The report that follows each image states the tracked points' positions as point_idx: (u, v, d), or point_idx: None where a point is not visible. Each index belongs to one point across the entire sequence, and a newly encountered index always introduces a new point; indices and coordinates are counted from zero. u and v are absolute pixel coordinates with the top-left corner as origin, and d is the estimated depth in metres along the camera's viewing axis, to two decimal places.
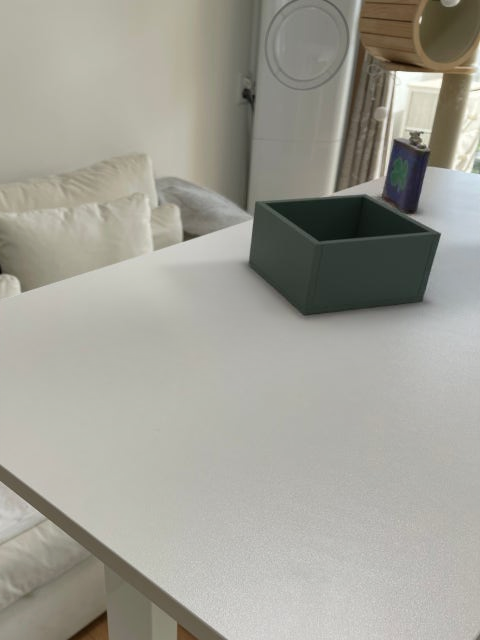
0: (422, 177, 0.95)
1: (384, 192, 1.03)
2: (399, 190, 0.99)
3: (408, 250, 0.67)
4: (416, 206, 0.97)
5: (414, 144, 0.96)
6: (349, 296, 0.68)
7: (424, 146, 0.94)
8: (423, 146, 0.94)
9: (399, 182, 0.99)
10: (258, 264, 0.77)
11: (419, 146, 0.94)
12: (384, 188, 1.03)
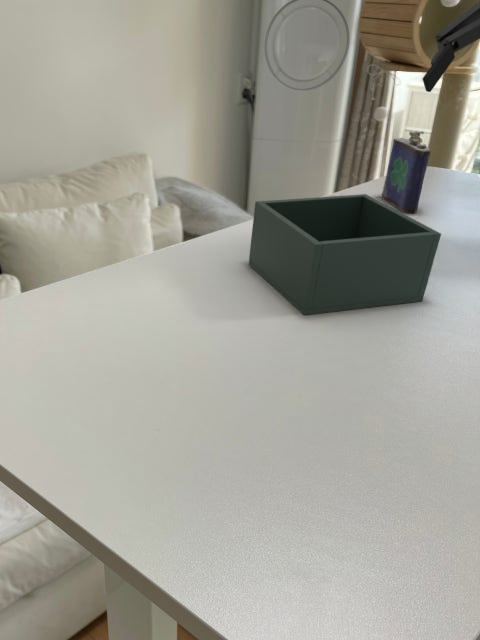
0: (422, 177, 0.95)
1: (384, 192, 1.03)
2: (399, 190, 0.99)
3: (408, 250, 0.67)
4: (416, 206, 0.97)
5: (414, 144, 0.96)
6: (349, 296, 0.68)
7: (424, 146, 0.94)
8: (423, 146, 0.94)
9: (399, 182, 0.99)
10: (258, 264, 0.77)
11: (419, 146, 0.94)
12: (384, 188, 1.03)
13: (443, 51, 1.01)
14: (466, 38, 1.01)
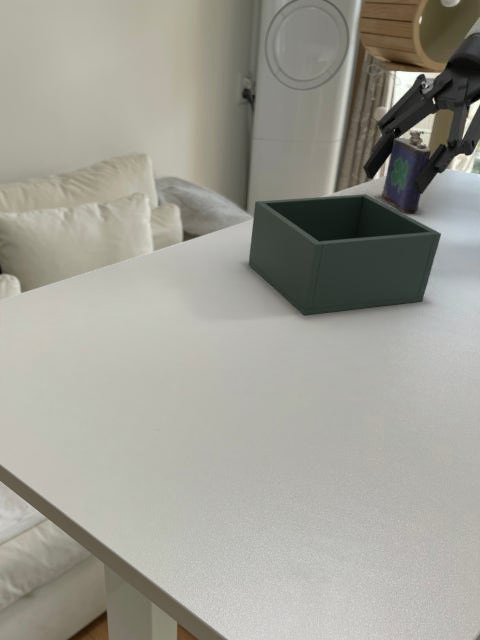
0: None
1: (384, 192, 1.03)
2: (399, 190, 0.99)
3: (408, 250, 0.67)
4: (416, 206, 0.97)
5: (414, 144, 0.96)
6: (349, 296, 0.68)
7: (424, 146, 0.94)
8: (423, 146, 0.94)
9: (399, 182, 0.99)
10: (258, 264, 0.77)
11: (419, 146, 0.94)
12: (384, 188, 1.03)
13: (384, 140, 0.99)
14: (407, 123, 0.99)
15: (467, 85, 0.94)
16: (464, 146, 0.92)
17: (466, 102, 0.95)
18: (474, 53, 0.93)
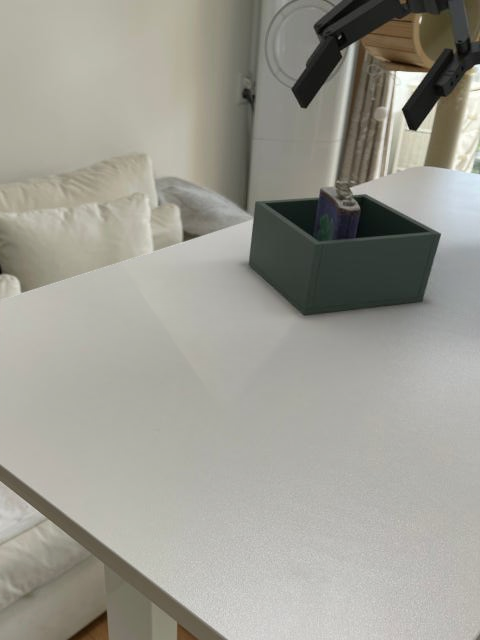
0: None
1: None
2: None
3: (408, 250, 0.67)
4: None
5: (342, 198, 0.70)
6: (349, 296, 0.68)
7: (352, 202, 0.68)
8: (351, 202, 0.68)
9: None
10: (258, 264, 0.77)
11: (345, 202, 0.68)
12: None
13: (322, 47, 0.67)
14: (356, 28, 0.67)
15: None
16: None
17: None
18: None
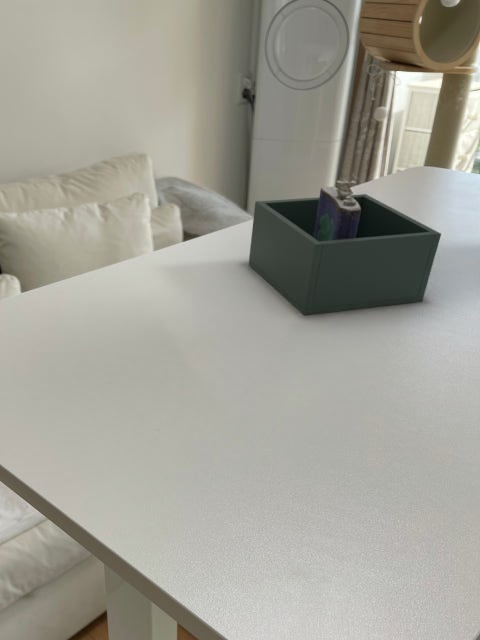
0: None
1: None
2: None
3: (408, 250, 0.67)
4: None
5: (342, 198, 0.70)
6: (349, 296, 0.68)
7: (353, 203, 0.68)
8: (351, 202, 0.68)
9: None
10: (258, 264, 0.77)
11: (346, 202, 0.68)
12: None
13: None
14: None
15: None
16: None
17: None
18: None
